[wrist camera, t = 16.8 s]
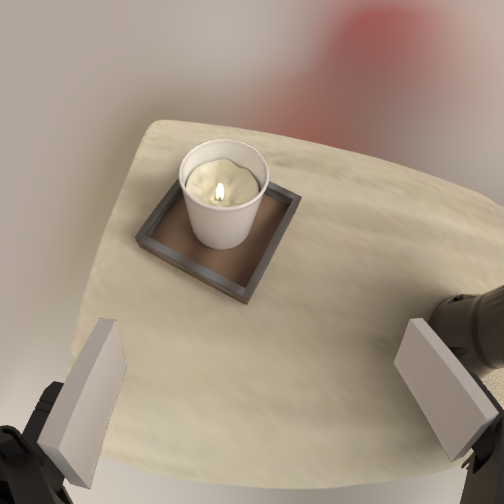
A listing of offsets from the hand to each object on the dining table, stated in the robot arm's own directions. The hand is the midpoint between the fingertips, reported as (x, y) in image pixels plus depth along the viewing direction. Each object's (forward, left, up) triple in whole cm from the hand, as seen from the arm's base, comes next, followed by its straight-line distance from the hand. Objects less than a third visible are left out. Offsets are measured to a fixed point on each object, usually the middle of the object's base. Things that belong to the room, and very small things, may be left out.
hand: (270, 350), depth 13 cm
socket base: (+11, -17, -26) cm, 33 cm away
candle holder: (+11, -17, -25) cm, 32 cm away
